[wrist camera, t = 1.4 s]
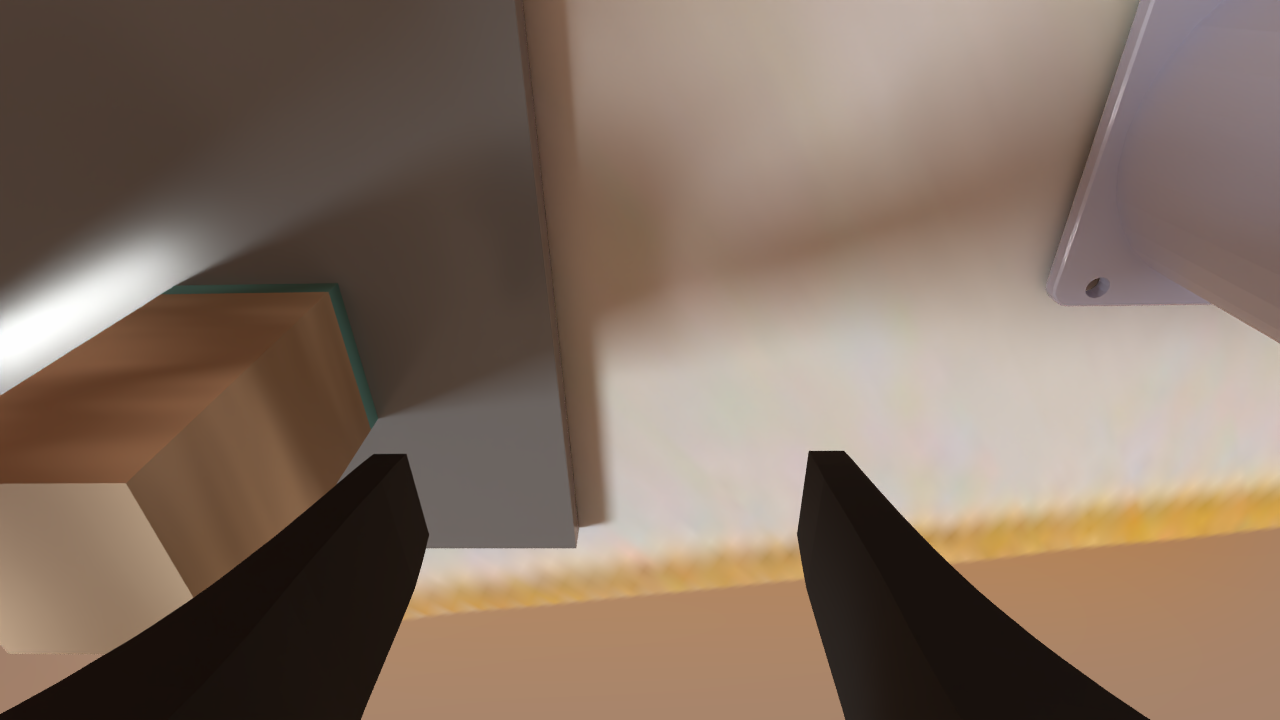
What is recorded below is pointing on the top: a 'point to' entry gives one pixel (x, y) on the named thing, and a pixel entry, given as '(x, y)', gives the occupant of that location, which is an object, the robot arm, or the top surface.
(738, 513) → the top surface
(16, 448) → the beech block
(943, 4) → the top surface
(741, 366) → the top surface
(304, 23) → the slate board
